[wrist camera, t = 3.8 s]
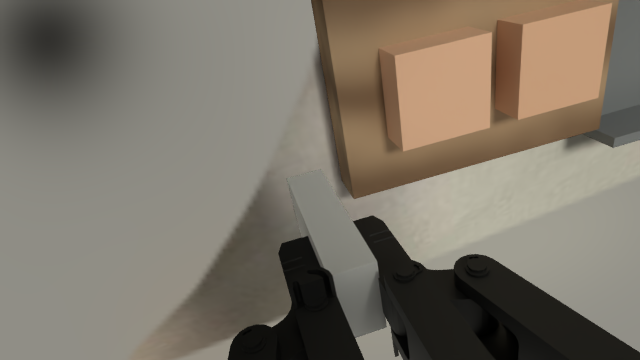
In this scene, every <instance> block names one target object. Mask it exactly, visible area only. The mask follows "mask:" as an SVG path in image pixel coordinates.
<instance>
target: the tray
mask: <svg viewBox="0 0 640 360" xmlns="http://www.w3.org/2000/svg"><path fill="white" fill-rule="evenodd" d="M583 134H584V135H586V136H588V137H590V138H593V139H595V140H597V141H599V142H601V143H604V144H606V145H608V146H610V147H612V148H614V147H618V146H621V145H624V144H628V143H631V142H635V141H638V140H640V0H619V3H618V9H617V16H616V22H615V29H614V35H613V42H612V48H611V55H610V61H609V68H608V74H607V81H606V87H605V94H604V100H603V107H602V113H601V120H600V126H599V129H597V130H593V131H590V132H586V133H583Z"/></svg>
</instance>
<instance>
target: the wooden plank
mask: <svg viewBox="0 0 640 360" xmlns="http://www.w3.org/2000/svg"><path fill="white" fill-rule="evenodd" d="M573 1H577V0H311V3H312V8H313V14H314V20H315V26H316V32H317V38H318V44H319V49H320V55H321V61H322V67H323V73H324V79H325V84H326V90H327V96H328V102H329V108H330V114H331V120H332V125H333V131H334V137H335V143H336V149H337V155H338V160H339V166H340V172H341V178H342V181H343V183H344V184H345V186H346V188H347V189H348V191H349V192H350V194H351V195H352V197H353V198H354V199H356V198H359V197H363V196H366V195H370V194H373V193H377V192H380V191H384V190H387V189H391V188H394V187H398V186H401V185H405V184H408V183H412V182H415V181H419V180H422V179H426V178H429V177H433V176H436V175H440V174H443V173H447V172H450V171H454V170H457V169H461V168H464V167H468V166H471V165H475V164H478V163H482V162H485V161H489V160H492V159H496V158H499V157H503V156H506V155H510V154H513V153H517V152H520V151H524V150H527V149H531V148H534V147H538V146H541V145H545V144H548V143H552V142H555V141H559V140H562V139H566V138H569V137H573V136H576V135H579V134H583V133H586V132H590V131H593V130H597V129H599V126H600V120H601V113H602V107H603V100H604V94H605V87H606V81H607V74H608V68H609V61H610V55H611V48H612V42H613V35H614V29H615V22H616V16H617V9H618V3H619V0H589V1H599V2H609V3H612V8H611V15H610V22H609V29H608V36H607V42H606V49H605V56H604V63H603V70H602V76H601V83H600V90H599V97H598V98H596V99H592V100H589V101H585V102H582V103H578V104H574V105H571V106H567V107H563V108H560V109H556V110H552V111H549V112H545V113H542V114H538V115H534V116H531V117H527V118H523V119H520V120H517V119H515V118H513V117H511V116H509V115H507V114H505V113H503V112H501V111H499V110H497V109H495V91H496V53H497V20H498V19H502V18H506V17H510V16H514V15H518V14H523V13H527V12H531V11H535V10H539V9H543V8H548V7H552V6H556V5H560V4H564V3H568V2H573ZM468 26H469V27H473V28H477V29H481V30H485V31H489V32H492V53H491V102H490V128H487V129H483V130H480V131H476V132H473V133H469V134H465V135H462V136H458V137H454V138H451V139H447V140H444V141H440V142H436V143H433V144H429V145H425V146H422V147H418V148H415V149H411V150H407V151H404V152H403V151H402V150H401V149H400V148H399V147H398V146H397V145H396V144H395V143H393V142H392V141H391V140H390V139H389V138H388V132H387V122H386V113H385V103H384V94H383V84H382V75H381V65H380V56H379V48H381V47H385V46H389V45H393V44H397V43H402V42H406V41H410V40H414V39H418V38H422V37H427V36H431V35H435V34H439V33H443V32H447V31H452V30H456V29H460V28H464V27H468Z"/></svg>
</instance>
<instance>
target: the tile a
mask: <svg viewBox="0 0 640 360" xmlns="http://www.w3.org/2000/svg"><path fill="white" fill-rule="evenodd" d="M491 53H492V32H489V31H485V30H481V29H477V28H473V27H469V26H468V27H464V28H460V29H456V30H452V31H447V32H443V33H439V34H435V35H431V36H427V37H422V38H418V39H414V40H410V41H406V42H402V43H397V44H393V45H389V46H385V47H381V48H379V56H380V65H381V75H382V84H383V94H384V103H385V113H386V122H387V132H388V138H389V139H390V140H391V141H392V142H393V143H395V144H396V145H397V146H398V147H399V148H400V149H401V150H402V151H403V152H404V151H407V150H411V149H415V148H418V147H422V146H425V145H429V144H433V143H436V142H440V141H444V140H447V139H451V138H454V137H458V136H462V135H465V134H469V133H473V132H476V131H480V130H483V129H487V128H490V102H491Z"/></svg>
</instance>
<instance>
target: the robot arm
mask: <svg viewBox="0 0 640 360" xmlns="http://www.w3.org/2000/svg"><path fill="white" fill-rule="evenodd" d="M287 182H288V186H289V190H290V194H291V198H292V202H293V207H294V211H295V215H296V219H297V223H298V227H299V231H300V234H301V236H302V238H299V239H295V240H292V241H289V242H285V243H282V244H281V247H280V250H279V253H278V254H279V257H280V261H281V265H282V268H283V272H284V275H285V279H286V282H287V286H288V289H289V293H290V297H291V301H292V306H291V310H290V311H289V313H288V315H287V316H286V317H285V318H284V319H283V320H282V321H281V322H279V323H278V324H277V325H275V326H273V327H269V326H267V325H257V324H256V325H253V326H250V327H247V328H245V329H244V330H242V331H241V332H239V333H238V334H237V336H236V337H235V338H234V339H233V341H232V344H231V346H230V351H229V356H228V360H364V358H363V356H362V353H361V351H360V349H359V346H358V344H357V342H356V339H355V338H356V337H359V336H362V335H365V334H368V333H371V332H374V331H377V330H380V329H383V328H385V327H387V326H386V319H387V321H388V322H389V324H390V326H391V333H392V340H393V347H394V353H395V357H396V356H398V355H399V354H398V350H399V352H400V354H401V356H402V358H403V360H640V352H638V351H637V350H635V349H633V348H632V347H630V346H629V345H627V344H626V343H624V342H623V341H620V340H619V339H618V338H616V337H615V336H613V335H611V334H610V333H608V332H607V331H605V330H604V329H602V328H601V327H599V326H597V325H596V324H594V323H593V322H591V321H589V320H588V319H586V318H585V317H583V316H582V315H580V314H579V313H577V312H575V311H574V310H572V309H571V308H569V307H568V306H566V305H564V304H563V303H561V302H560V301H558V300H557V299H555V298H554V297H552V296H550V295H549V294H547V293H546V292H544V291H543V290H541V289H539V288H538V287H536V286H535V285H533V284H532V283H530V282H528V281H527V280H525V279H524V278H522V277H520V276H519V275H517V274H516V273H514V272H513V271H511V270H510V269H508V268H506V267H505V266H503V265H502V264H500V263H499V262H497V261H495V260H494V259H492V258H490V257H487V256H484V255H478V254H474V255H467V256H464V257H461V258H460V259H458V260H457V261H456V263H455V265H454V269H449V270H429V269H426V268H425V267H424V266H423V265H422V264H421V263H419V262H416V261H413V260H411V259H410V257H409V256H408V255H407V253H406V252H405V251H404V249H403V248H402V246H401V245H400V244H399V242H398V241H397V240H396V238H395V237H394V235H393V234H392V233H391V231H389V229H388V227H387V226H386V225H385V223H384V222H383V221H382V220H380V219H378V218H376V217H374V216H369V217H366V218H362V219H359V220H356V221H352V219H351V218H350V216H349V214H348V213H347V211H346V209H345V208H344V206H343V204H342V203H341V201H340V199H339V198H338V196H337V195H336V193H335V191H334V190H333V188H332V186H331V185H330V183H329V181H328V180H327V178H326V177H325V175H324V173H323V172H322V170H321V169H319V170H315V171H312V172H308V173H305V174H301V175H297V176H294V177H290V178H287ZM385 317H386V319H385Z"/></svg>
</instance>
